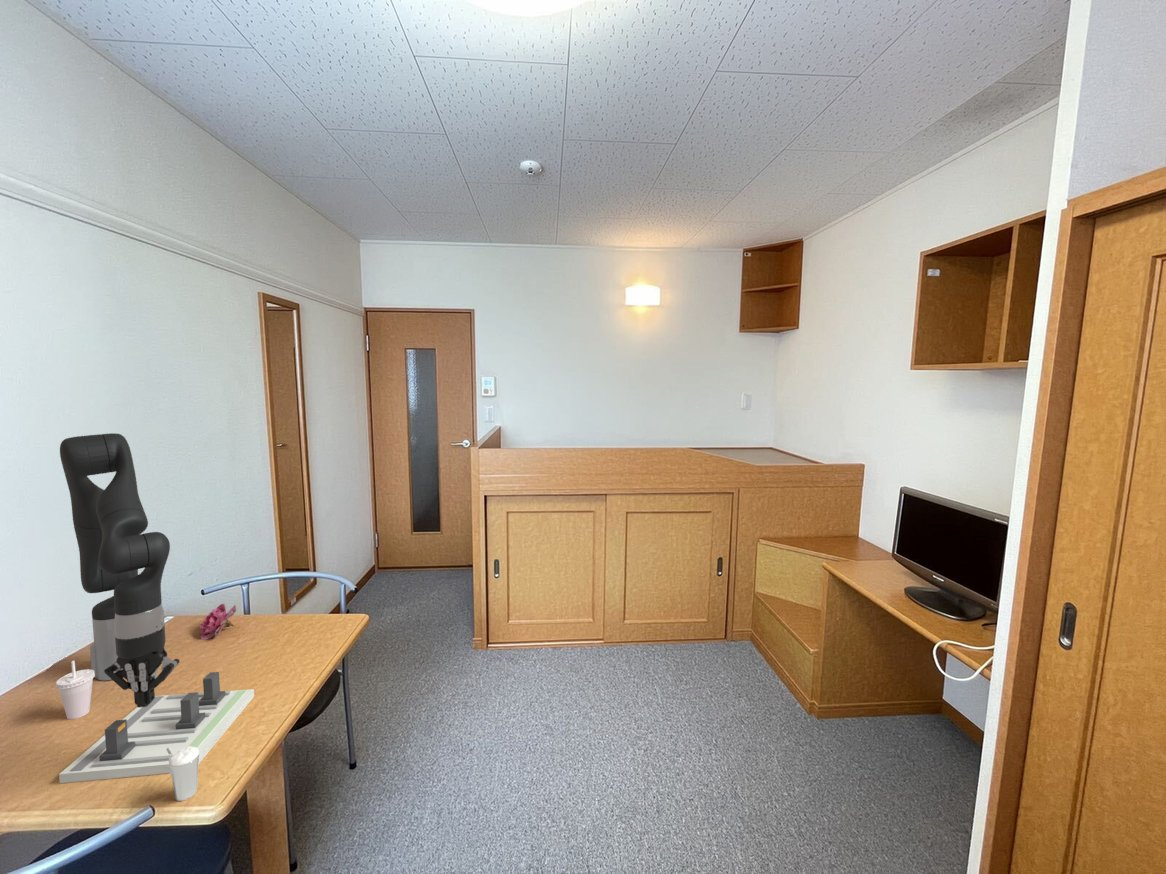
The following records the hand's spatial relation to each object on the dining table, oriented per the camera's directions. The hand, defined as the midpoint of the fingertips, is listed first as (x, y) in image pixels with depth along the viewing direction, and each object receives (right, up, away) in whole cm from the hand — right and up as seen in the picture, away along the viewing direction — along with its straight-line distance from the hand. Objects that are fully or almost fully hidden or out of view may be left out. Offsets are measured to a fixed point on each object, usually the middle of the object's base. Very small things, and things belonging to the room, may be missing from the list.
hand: (145, 704), depth 98 cm
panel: (-3, -12, +9) cm, 15 cm away
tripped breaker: (-6, -10, 0) cm, 12 cm away
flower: (-26, -7, +52) cm, 59 cm away
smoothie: (-30, -11, +14) cm, 35 cm away
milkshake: (+14, -14, -7) cm, 21 cm away
